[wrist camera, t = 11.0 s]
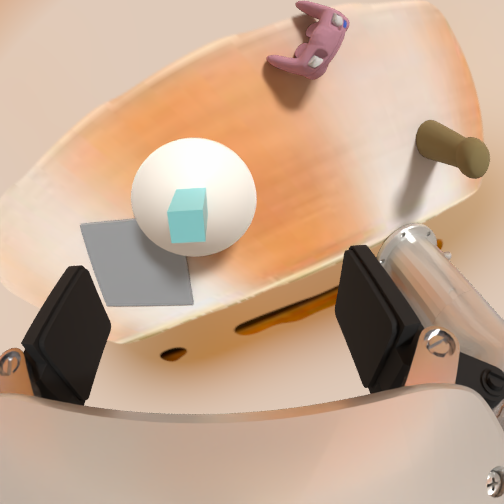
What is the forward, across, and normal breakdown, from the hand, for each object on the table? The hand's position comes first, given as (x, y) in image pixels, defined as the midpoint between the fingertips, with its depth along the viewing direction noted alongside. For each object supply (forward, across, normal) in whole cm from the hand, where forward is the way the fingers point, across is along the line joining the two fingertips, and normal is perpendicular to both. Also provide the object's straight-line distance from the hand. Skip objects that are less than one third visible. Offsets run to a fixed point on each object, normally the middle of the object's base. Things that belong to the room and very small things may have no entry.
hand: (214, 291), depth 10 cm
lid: (+20, +3, +4) cm, 21 cm away
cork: (+27, -30, -2) cm, 40 cm away
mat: (+26, +14, +16) cm, 34 cm away
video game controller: (+27, -10, -13) cm, 31 cm away
